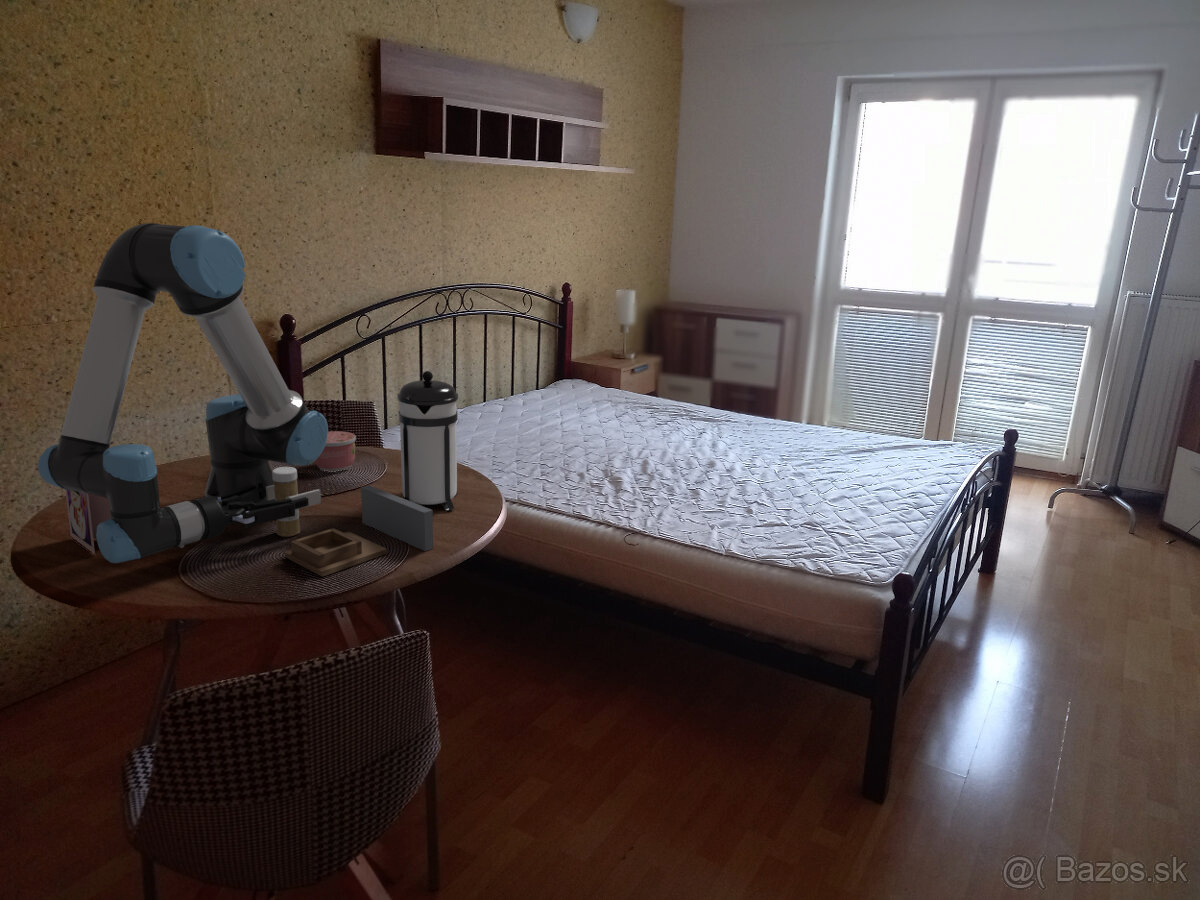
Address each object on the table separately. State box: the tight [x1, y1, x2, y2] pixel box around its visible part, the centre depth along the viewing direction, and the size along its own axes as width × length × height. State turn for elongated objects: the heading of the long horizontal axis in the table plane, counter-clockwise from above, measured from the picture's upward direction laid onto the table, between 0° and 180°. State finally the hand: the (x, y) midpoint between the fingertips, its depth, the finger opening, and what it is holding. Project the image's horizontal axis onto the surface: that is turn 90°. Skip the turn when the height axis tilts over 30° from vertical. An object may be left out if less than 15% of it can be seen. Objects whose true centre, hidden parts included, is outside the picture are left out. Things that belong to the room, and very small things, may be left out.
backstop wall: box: [360, 484, 434, 552], centre depth 165 cm, size 2×20×8 cm, turn 51°
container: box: [314, 430, 357, 471], centre depth 204 cm, size 10×10×8 cm
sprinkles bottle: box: [272, 466, 301, 538], centre depth 164 cm, size 5×5×14 cm
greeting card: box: [64, 489, 111, 555], centre depth 155 cm, size 11×7×15 cm, turn 50°
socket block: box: [284, 527, 388, 577], centre depth 156 cm, size 14×12×4 cm
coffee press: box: [397, 370, 459, 512], centre depth 182 cm, size 17×16×30 cm
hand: (307, 490), depth 167 cm, fingers open, 8 cm apart
